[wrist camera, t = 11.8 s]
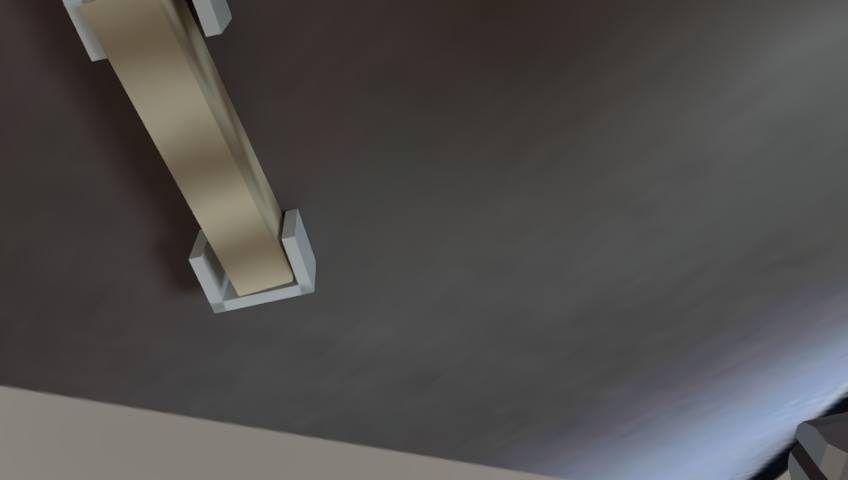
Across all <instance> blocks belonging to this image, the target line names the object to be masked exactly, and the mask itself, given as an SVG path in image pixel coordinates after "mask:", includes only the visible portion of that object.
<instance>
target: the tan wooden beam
mask: <svg viewBox="0 0 848 480" xmlns="http://www.w3.org/2000/svg"><path fill="white" fill-rule="evenodd" d="M79 7H80V9H81V11H82V13H83V14H84V16H85V18H86V20H87V22H88V23H89V25H90V27H91V29H92V31H93V33H94V34H95V36H96V38H97V40H98V42H99V43H100V45H101V47H102V49H103V51H104V52H105V54H106V56H107V58H108V60H109V62H110V63H111V65H112V67H113V69H114V71H115V72H116V74H117V76H118V78H119V80H120V81H121V83H122V85H123V87H124V89H125V91H126V92H127V94H128V96H129V98H130V100H131V101H132V103H133V105H134V107H135V109H136V110H137V112H138V114H139V116H140V118H141V120H142V121H143V123H144V125H145V127H146V129H147V130H148V132H149V134H150V136H151V138H152V139H153V141H154V143H155V145H156V147H157V149H158V150H159V152H160V154H161V156H162V158H163V159H164V161H165V163H166V165H167V167H168V168H169V170H170V172H171V174H172V176H173V178H174V179H175V181H176V183H177V185H178V187H179V188H180V190H181V192H182V194H183V196H184V197H185V199H186V201H187V203H188V205H189V207H190V208H191V210H192V212H193V214H194V216H195V217H196V219H197V221H198V223H199V225H200V226H201V228H202V230H203V232H204V234H205V236H206V237H207V239H208V241H209V243H210V245H211V246H212V248H213V250H214V252H215V254H216V256H217V257H218V259H219V261H220V263H221V265H222V266H223V268H224V270H225V272H226V274H227V275H228V277H229V279H230V281H231V283H232V285H233V286H234V288H235V290H236V292H237V294H238V295H239V296H243V295H247V294H250V293H254V292H257V291H261V290H264V289H268V288H272V287H275V286H279V285H282V284H286V283H289V282H292V280H293V269H292V266H291V263H290V261H289V258H288V255H287V253H286V250H285V247H284V245H283V242H282V232H283V226H284V217H283V215H282V212H281V210H280V208H279V206H278V204H277V201H276V199H275V197H274V195H273V193H272V190H271V188H270V186H269V184H268V182H267V179H266V177H265V175H264V173H263V171H262V168H261V166H260V164H259V162H258V160H257V157H256V155H255V153H254V151H253V149H252V146H251V144H250V142H249V140H248V137H247V135H246V133H245V131H244V129H243V126H242V124H241V122H240V120H239V118H238V115H237V113H236V111H235V109H234V107H233V104H232V102H231V100H230V98H229V96H228V93H227V91H226V89H225V87H224V85H223V82H222V80H221V78H220V76H219V74H218V71H217V69H216V67H215V65H214V63H213V60H212V58H211V56H210V54H209V52H208V49H207V47H206V45H205V43H204V40H203V38H202V36H201V34H200V32H199V29H198V27H197V25H196V23H195V21H194V18H193V16H192V14H191V12H190V10H189V7H188V5H187V3H186V1H185V0H88V1H87V2H85V3H83V4H81V5H80V6H79Z"/></svg>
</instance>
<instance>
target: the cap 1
mask: <svg viewBox="0 0 848 480" xmlns="http://www.w3.org/2000/svg"><path fill="white" fill-rule="evenodd" d="M62 1H63V3H64V5H65V7H66V9H67V11H68V13H69V15H70V17H71V19H72V21H73V24H74V26H75V28H76V30H77V32H78V34H79V36H80V38H81V40H82V42H83V44H84V46H85V48H86V50H87V52H88V54H89V56H90V58H91V60H92V61H97V60H101V59H106V58H107V56H106V54H105V52H104V51H103V49H102V47H101V45H100V43H99V42H98V40H97V38H96V36H95V34H94V33H93V31H92V29H91V27H90V25H89V23H88V22H87V20H86V18H85V16H84V14H83V13H82V11H81V9H80V7H79V6H80V5H81V4H83V3H85V2H87V1H88V0H62ZM192 1H193V3H194V6H195V9H196V11H197V14H198V17H199V19H200V22H201V25H202V27H203V30H204V33H205V35H206V37H208V36H213V35H217V34H222V32H223V31H224V30H225V28H226V27H227V25H228V24H229V22H230V21H231V19H232V16H231V13H230V10H229V7H228V4H227V1H226V0H192Z"/></svg>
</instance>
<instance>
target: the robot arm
mask: <svg viewBox="0 0 848 480" xmlns="http://www.w3.org/2000/svg"><path fill="white" fill-rule="evenodd" d="M795 436H796V438H797V439H798V440H799V442H800V444H798V445H797V446H796V447H795V448H794V449H793V450H792V451H791V452H790V456H789V461H788V467H789V472H790V476H791V480H848V412H846V413H842V414H837V415H832V416H827V417H822V418H818V419H813V420H808V421H803V422H802V423H801V424H799V425H798V426H797V429H796V433H795Z"/></svg>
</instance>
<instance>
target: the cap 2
mask: <svg viewBox="0 0 848 480" xmlns="http://www.w3.org/2000/svg"><path fill="white" fill-rule="evenodd" d="M282 242H283V245H284V247H285V250H286V253H287V255H288V258H289V261H290V263H291V266H292V269H293V280H292V282H289V283H286V284H282V285H279V286H275V287H272V288H268V289H264V290H261V291H257V292H254V293H250V294H247V295H243V296H239V295H238V294H237V292H236V290H235V288H234V286H233V285H232V283H231V281H230V279H229V277H228V275H227V274H226V272H225V270H224V268H223V266H222V265H221V263H220V261H219V259H218V257H217V256H216V254H215V252H214V250H213V248H212V246H211V245H210V243H209V241H208V239H207V237H206V236H205V234H204V232H203V230H202V229H201V230H199V233H198V236H197V238H196V241H195V244H194V246H193V249H192V252H191V254H190V257H189V261H190V263H191V265H192V268H193V270H194V272H195V274H196V276H197V278H198V280H199V282H200V284H201V286H202V288H203V290H204V292H205V294H206V296H207V298H208V300H209V302H210V304H211V306H212V309H213V311H214V313H220V312H224V311H229V310H234V309H238V308H243V307H247V306H252V305H257V304H261V303H266V302H270V301H275V300H280V299H284V298H289V297H293V296H298V295H303V294H307V293H312V292H314V286H315V268H316V261H315V258H314V255H313V252H312V249H311V246H310V243H309V240H308V237H307V234H306V232H305V229H304V226H303V223H302V220H301V217H300V214H299V211H298V208H297V209H293V210H288V211H286V213H285V219H284V226H283V232H282Z"/></svg>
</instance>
